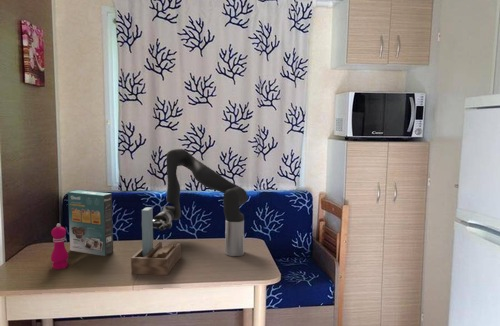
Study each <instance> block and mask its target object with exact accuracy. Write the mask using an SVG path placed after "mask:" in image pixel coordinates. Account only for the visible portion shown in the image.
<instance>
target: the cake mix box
mask: <svg viewBox="0 0 500 326" xmlns="http://www.w3.org/2000/svg"><path fill="white" fill-rule="evenodd" d="M67 196H68V198H67V201H68V203H67V205H68V226H69V227H68V228H69V249H70V252H71V251H72V252H77V253H83V254H90V255H96V256H102V257H106V256H108V255H110V254H113V253H114V231H113V230H114V227H113V193H108V192H101V191H91V190H90V191H88V190H77V189H76V190H73V191H67Z"/></svg>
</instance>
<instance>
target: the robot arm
mask: <svg viewBox="0 0 500 326" xmlns="http://www.w3.org/2000/svg"><path fill="white" fill-rule="evenodd" d="M165 158H166V161H165V162H166V176H167V187H166V196H165V198H166V202H167V203H169V204H170V205H164V206H163V207H162V210H161V212H159V213H158V214H156V215H155V216H154V217H153V229H156V230H159V231H161V232H162V231H164V230H166V229H167V230H171V228H172V227H173V221H177V220H179V219H180V218H181V216H182V211H181V205H180V194H181V184H180V182H179V180H178V179H179V178H178V176H177V170H178V167H181V166H182V167H184V168H186V169H188V170H190V172H191V173H192V175H193V177H194V178H195V180H196V181H197V182H198V184H199V183H200V184H201V185H202V186H204V187H206V188H208V189H210V190H214V191H217V192H220V193H222V194H223V200H222V201H223V214H224V217H225V218H224V219H225V221H224V222H225V225H224V226H225V232H224V235H225V236H224V237H225V238H224V239H225V244H224V245H225V247H224V248H225V250H224V251H225V255H226V256H228V257H239V256H240V257H241V256H244V254H245V215H244V214H243V213H242V212H241V210H240V206H242V205H244V204H246V203H247V201H248V198H249V197H248V194H247V191H246V190H245V189H244V188H243V187H241V186H239V185H237V184H235V183H233V182H232V181H229V180H228V179H226V178H225V177H224V176H222V175H221V174H219V173H218V172H216V171H215V170H213V169H212V168H210V167H209V166H207V165H206V164H204V163H203V162H201V161H200V160H198V159H197V158H195V157H194V155H192V154H191V153H190V152H188V151H187V150H186V149H183V148H176V149H175V148H174V149H169V151H168V152H167V153H166V157H165ZM171 205H172V206H171ZM140 227H141V229H142V222H141V223H140Z"/></svg>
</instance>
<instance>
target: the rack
mask: <svg viewBox="0 0 500 326" xmlns="http://www.w3.org/2000/svg"><path fill="white" fill-rule="evenodd" d="M181 246H182V244H181V242H177V243H176V245H174V248H173V249H172V251H171V252H170V253H169V254H168V255H167V256H166V258H152V256H153V255H154V254H155V253H156V252H157V251H158V250H159V249H160V248H163V242H161V241H159V242H158V243H157V244H156V245H155V246H153V249H152V250H151V251H150V252H149V253H148V254H147V255H146V256H145V257H143V252H142V247H141V248H140V249H139V250H137V252H136V253H135V254H134V255H132V256H131V257H130V263H131V264H130V270H131V274H132V275H133V274H135V275H136V274H137V275H138V274H139V275H154V276H155V275H156V276H157V275H159V276H160V275H161V276H167V275H168V274H169V273H170V272H171V271H172V269H173V268H174V267H175V265H176V264H177V262H178V261H179V260H180V259H181V255H182V253H181V252H182V251H181V250H182V249H181V248H182V247H181Z"/></svg>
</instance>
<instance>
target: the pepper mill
mask: <svg viewBox="0 0 500 326" xmlns="http://www.w3.org/2000/svg"><path fill="white" fill-rule="evenodd" d="M66 234H67V230H66V228H65V227H64V226H62V225H61V223H60V222H59V223H56V226H55V227H54V228H53V229H51V236H52V237H53V238H52V242H53V243H54V246H53V250H52V253H51V255H50V256H51V257H50V261H51V262H52V265H51V266H52V269H55V270H62V269H66V268H67V267H68V266H69V265H68V263H69V262H68V259H69V253H68V250H67V249H66V246H65V241H66Z"/></svg>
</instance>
